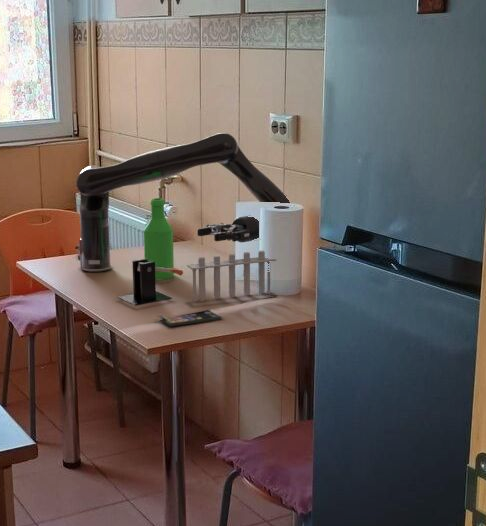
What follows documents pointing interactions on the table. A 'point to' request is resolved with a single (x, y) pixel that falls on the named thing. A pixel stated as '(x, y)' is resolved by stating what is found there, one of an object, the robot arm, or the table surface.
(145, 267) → the bracket
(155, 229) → the bottle
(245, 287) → the test tube rack
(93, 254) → the robot arm
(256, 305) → the table surface
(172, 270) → the lever
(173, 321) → the smartphone
